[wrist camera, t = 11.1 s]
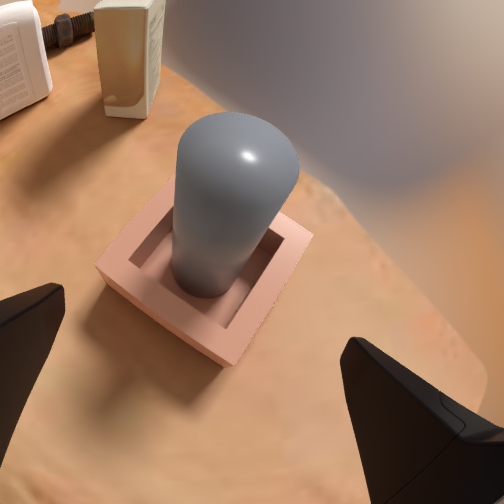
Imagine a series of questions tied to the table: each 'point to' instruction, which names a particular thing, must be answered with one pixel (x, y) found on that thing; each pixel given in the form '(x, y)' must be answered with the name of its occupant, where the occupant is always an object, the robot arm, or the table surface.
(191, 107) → the table surface
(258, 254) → the tray
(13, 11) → the photo printer
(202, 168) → the grey dome-topped post
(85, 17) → the bolt
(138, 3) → the skincare box
